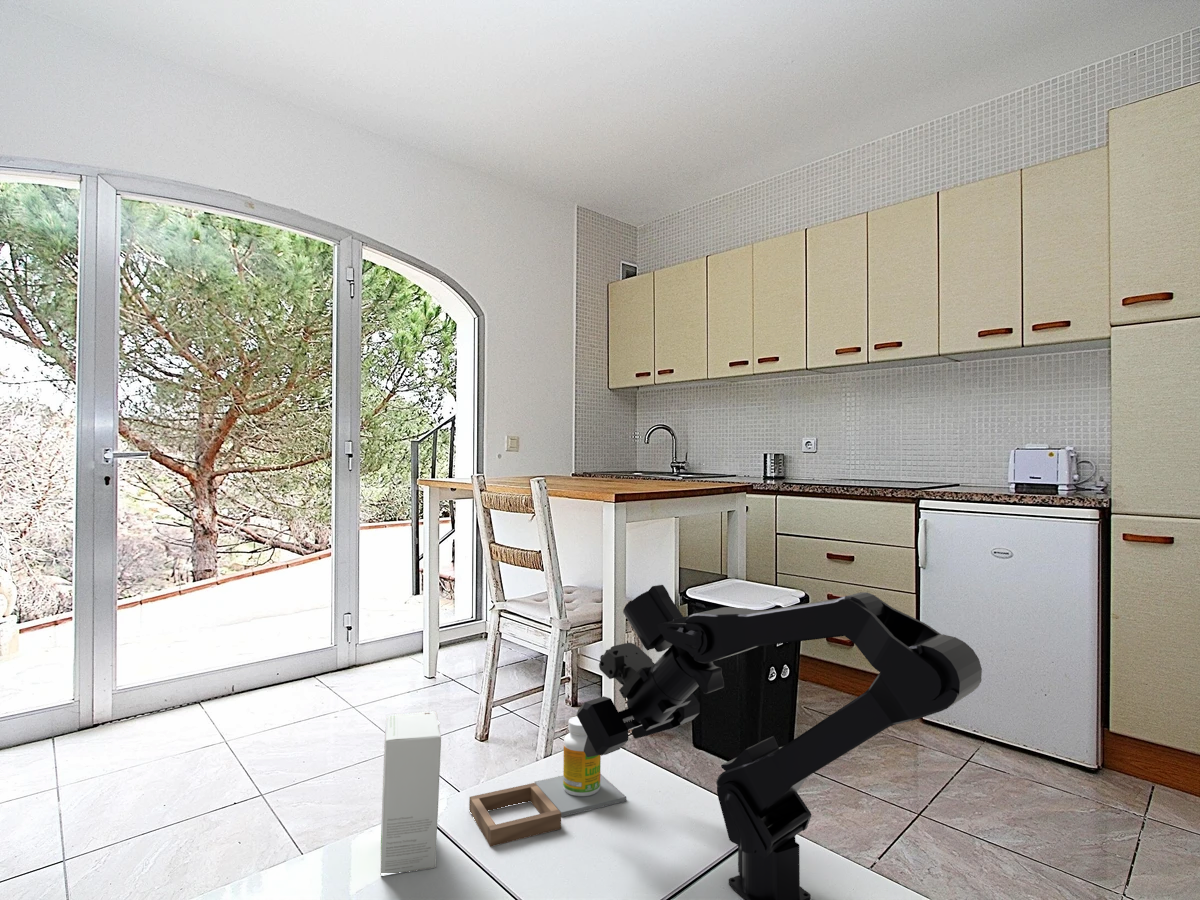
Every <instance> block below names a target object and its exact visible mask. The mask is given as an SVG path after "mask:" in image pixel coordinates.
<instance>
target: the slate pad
mask: <svg viewBox="0 0 1200 900" xmlns="http://www.w3.org/2000/svg"><path fill="white" fill-rule="evenodd" d="M534 783H535V784H536V785H537V786H538V787H539V788H540V789H541V791H542V792H543V793H544V794H545V795H546V796H547V797H548V799H549V800H550V801H551V802H552V803H553V804H554V805H555V807H556V808H557V809H558V810H559V811H560V812H561V818H563V817H567V816H571V815H575V814H579V813H583V812H587V811H591V810H595V809H596V810H597V809H599V808H603V807H607V806H612V805H615V804H620V803H624V802H627V796H626V795H625V794H624V793H623V792H622V791H621V790H620V789H619V788H618V787H616V786H615V785H614V784H613V783H612V782H610V781H609V780H608V779H607V778H606V777H605V776H604V775H603V774H602V773H600V789H599V791H598V792H596V793H595V794H593V795H590V796H574V795H570V794H568V793H567V792H566V791H565V790H564V787H563V775H560V776H554V777H549V778H544V779H540V780H536V781H535V780H534Z"/></svg>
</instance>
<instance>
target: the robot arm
mask: <svg viewBox="0 0 1200 900" xmlns="http://www.w3.org/2000/svg"><path fill="white" fill-rule="evenodd" d="M622 613H623V615H624V616H625V618H626V620H627V621H628V623H629V624H630V626H631V628H632V629H633V631H634V633H635V634H636V635H637V637H638V638H639V640H640V642H641V644H642V646H643V647H644V648H645V649H646V651H650V650H653V649H654V650H655V652H656V653H661V652H663V651H665V650H666V651H665V652H664V653H663V654H662V655H661V657H659V658H658V660H656V662H655V663H654V661H653V660H652V658H651V657H650V656H649V655H648V654H647V653H645V652H644V650H642V649H641V648H640V647H639V646H637V644H635V643H633V642H625V643H621V644H615V645H613V646H611V647H610V648H609V649H606V650H605V652H604V653H603V654H601V655H600V657H599V659H600V661H599V664H598V668H599V670H600V671H601V672H602V673H603V674H604V675H605V676H606V677H607V678H608V679H609V680H612V679H615V680H616V681H617V682H618V683H619V684H620V685H622V686H621V687H620V689H618V690H619V693H620V694H621V696H622V698H623V699H626V705H627V708H626V709H623V710H620V711H618V708H617V707H616V705H615V704H614V702H613V700H612V698H610V697H607V696H601V697H597V698H594V699H591V700H588V701H584V702H583V704H582V705H580V707H579V708H578V710H577V712H576V716H577V717H578V719H579V721H580V723H581V724H582V726H583V728H584V730H585V732H586V734H587V739H586V743H585V747H584V752H585V754H586V756H587V757H592V756H597V755H601V756H605V755H609V754H612V753H614V752H616V751H619V750H620V749H621V748H623V746H625V745H626V744H627V742H629V731H631V735H632V736H633V739H635V740H636V739H637V740H638V739H639V738H644V737H647V736H651V735H654V734H658V733H661V732H664V731H668V730H672V729H675V728H677V727H680V726H682V725H684V724H685V723H688V722H692V721H693V720H694V719H695V718H696V717H697V716H698V715H699V714H700V712H701V710H700V709H701V708H700V705H701V703H700V702H699V700H698V699H697V697H696V695H695V694H694V692H695V691H696V690H697V689H698V688H700V690H701V691H702V693H703V694H705V695H707V694H710V693H712V692H715V691H718V690H720V689H723V688H725V682H724V677H723V674H722V671H723V669H722V667H720V666H717V665H715V664H714V662H715V661H718V660H722V659H725V658H729V657H731V656H732V657H733V656H735V655H738V654H741V653H744V652H748V651H750V650H752V649H755V648H758V647H762V646H771V645H781V644H788V643H796V642H798V643H799V642H804V641H805V642H806V641H812V640H813V641H814V640H822V639H829V638H838V637H845V638H847V639H848V640H849V641H850V642H852V643H853V644H854V646H856V647H857V648H858V651H860V653H861V654H862V655H863V656H864V658H865V660H867V661H868V663H869V664H870V666H871V667H873V668H874V669H875V670H876V671H877V672H879V673H878V674H877V676H876V677H875V679H874V680H873V682H872V683H871V685H870V686H869V687H868V689H867V690H866V691H864V692H863V693H861V694H860V695H859V696H857V697H856V698H854V699H853V700H851V701H849V703H847V704H846V705H844V706H843V707H842V706H841V708H839V709H838V710H836V711H835V712H833V713H832V714H830V715H829V716H827V717H826V718H824V719H823V720H821V721H819V722H818V723H816V724H815V725H813V726H812V727H810V728H809V729H808V730H806V731H805V732H803V733H802V734H800V735H798V736H797V737H795V738H794V739H792V740H791V741H790V742H788V743H787V744H785V745H783V746H780V747H779V745H778V743H777V741H776V739H775V736H774V735H773V736H771V737H768V738H766V739H764V740H761V741H760V742H758V743H756V744H754V745H752V746H749V747H747V748H746V749H744V750H743V751H742V752H741V753H739V754H738V756H737V757H734V758H733V759H731V760H729V761H727V762H725V763H722V764H721V766H720V767H721V769H723V770H724V771H723V772H721V773H720V774H719V775H718V777H717V778H716V781H715V783H716V792H717V793H716V794H717V799H718V802H719V806H720V809H721V813H722V816H723V817H722V818H723V820H724V824H725V825H724V826H725V828H726V833H727V835H728V840H729V841H730V842H731V843H732V844H735V845H737V847H738V848H737V851H738V852H737V856H738V857H737V862H738V863H737V870H738V873H739V874H738V875H735V876H733V877H729V878H728V886H729V887H730V888H732V889H733V890H734V891H735V892H736V893H737V894H739V895H740V896H741V897H742V898H743V899H744V900H810V899H811V897H812V896H811V893H810V892H808V891H807V890H806V889H805V888H803V887H802V886H800V883H801V882H800V872H801V870H800V868H801V867H800V862H801V861H800V844H799V843H798V842H797V841H796V836H797V835H798V834H800V833H801V832H802V831H806V830H807V828H808V827H809V824H810V821H811V817H812V813H811V811H810V809H809V807H807V805H806V804H805V802H804V801H803V798H801V796H800V794H799V793H798V791H799V790H800V789H801V787H802V786H803V784H804V783H805V781H806V780H807V779H808V778H809V777H810V776H811V775H812V774H814V773H816V772H818V771H819V770H821V769H823V768H825V767H826V766H827V765H829V764H831V763H832V762H834V761H836V760H837V759H839V758H840V757H842V756H844V755H846V754H847V753H848V752H851V751H852V750H853V749H854V750H855V748H857V747H859V746H860V745H862V744H864V743H865V742H866V741H868V740H870V739H871V738H874V737H875V736H876V735H879V734H880V733H882V732H883V731H885V730H886V729H888V728H890V727H893V726H896V725H899V724H904V723H909V722H912V721H915V720H919V719H923V718H925V717H928V716H931V715H934V714H936V713H940V712H942V711H945V710H948V708H951V707H952V706H953V705H954V704H956V703H958V702H959V701H961V700H962V699H964V698H966V697H967V696H969V695H970V694H971V693H974V692H975V690H976V689H978V688H979V686H980V685H981V683H982V672H983V671H982V670H983V668H982V665H981V661H980V658H979V656H978V655H977V654H976V652H975V650H974V649H973V648H972V647H971V646H969V644H967V643H966V642H965V641H963V640H962V639H959V638H958V637H956V636H952V635H947V634H943V633H942V634H941V633H940V632H938V631H937V630H936V629H934V628H932V627H931V626H930V625H929V624H927V623H925V622H923V621H921V620H919V619H916V618H915V617H912V616H911V615H908V614H907V613H904V612H902V611H900V610H898V609H896V608H894V607H892V606H890V605H889V604H888V603H886V602H885V601H883V600H882V599H881V598H879V597H877V596H876V595H874V594H872V593H870V592H864V591H863V592H861V591H860V592H857V593H853V594H852V593H851V594H849V595H845V596H841V597H839V598H834V599H827V600H822V601H815V602H809V603H803V604H797V605H791V606H784V607H783V606H782V607H779V608H777V607H776V608H773V609H767V610H762V609H761V610H760V609H759V610H757V609H751V608H747V607H731V606H730V607H726V606H725V607H719V608H715V609H711V610H706V611H702V612H697V613H692V614H690V615H687V616H683V614H682V613H681V611H680V610H679V608H678V607H677V605H676V604H675V602H674V601H673V599H672V598H671V597H670V594H669V592H668V590H667V588H666V587H665V586H664V584H657V585H652V586H651V587H650V588H649V589H648V590H647V591H645V592H643V593H641V594H639V595H638V596H636V597H635V598H634V599H632V600H629V601H628V602H627V603H626V604H625V606H624V608H623V611H622ZM811 900H812V899H811Z"/></svg>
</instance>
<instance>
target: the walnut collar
mask: <svg viewBox="0 0 1200 900" xmlns="http://www.w3.org/2000/svg"><path fill="white" fill-rule="evenodd" d="M468 800H469V803H468V806H469V807H468V808H469V810H470V812H471V813H472V815H473V817H474V819H475V820H474V819H473V820H474V822H475V821H476V822H475V824H476V823H477V824H476V825H477V827H478V828H479V830H480V832H481V834H482V835H483V837H484V839H485V840H486V842H487V844H488V845H489V847H490V848H491V847H495V846H499V845H503V844H506V843H511V842H515V841H519V840H523V839H526V838H529V837H530V838H531V837H534V836H539V835H542V834H546V833H550V832H554V831H558V830H561V829H562V817H561V812H560V811H559V810H558V809H557V808H556V807H555V805H554V804H553V803H552V802H551V801H550V800H549V799H548V797H547V796H546V795H545V794H544V793H543V792H542V791H541V789H540V788H539V787H538V786H537V785H536V784H535V782H531V783H527V784H522V785H517V786H514V787H509V788H504V789H499V790H495V791H490V792H486V793H485V792H484V793H482V794H481V793H480V794H476V795H472V796H469V799H468ZM528 801H531V802H532V803H531V802H530V803H531V804H532V806H533V807H534V808H535V809H536V811H537V812H538V813H537V814H535V815H530V816H526V817H523V818H518V819H513V820H509V821H505V822H501V823H496V822H495V820H494V819H493V817H491V815H490V813H489V811H488V810H492V811H494V810H493V809H496V810H498V809H497V808H501V807H505V806H508V805H513V804H518V803H522V802H527V803H529V802H528ZM522 804H523V803H522ZM518 805H519V804H518ZM505 808H506V807H505ZM501 809H502V808H501ZM469 810H468V811H469ZM470 812H469V813H470ZM473 817H472V818H473Z"/></svg>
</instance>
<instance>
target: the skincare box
mask: <svg viewBox="0 0 1200 900" xmlns="http://www.w3.org/2000/svg"><path fill="white" fill-rule="evenodd" d="M385 718H386V720H385V730H384V743H383V744H384V748H383V750H384V751H383V766H382V767H383V772H382V773H383V775H382V792H381V793H382V795H381V797H382V799H381V831H380V832H381V833H380V874H381V873H399V872H407V873H412V872H411V871H413V872H418V870H419V871H425V870H429V869H435V868H436V863H437V861H436V860H437V841H438V840H437V839H438V837H437V836H438V816H439V815H438V814H439V797H440V795H439V794H440V773H441V750H442V749H441V748H442V736H441V729H440V725H441V722H440V720H439V719H438V714H437V710H433V711H432V710H431V711H423V712H422V711H421V712H420V711H419V712H411V713H400V714H399V713H398V714H397V713H396V714H389V715H386V717H385ZM416 870H417V871H416ZM409 871H410V872H409Z"/></svg>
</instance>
